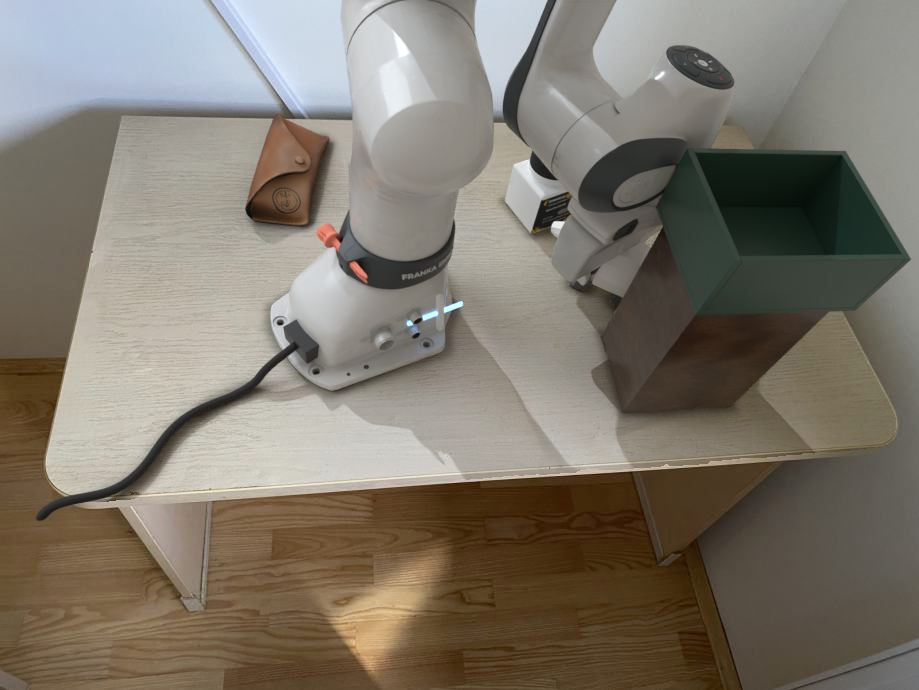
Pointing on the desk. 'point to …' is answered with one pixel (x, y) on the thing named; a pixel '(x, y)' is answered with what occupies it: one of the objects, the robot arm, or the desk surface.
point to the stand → (689, 343)
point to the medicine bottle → (537, 195)
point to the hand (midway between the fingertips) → (605, 266)
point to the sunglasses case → (286, 174)
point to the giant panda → (612, 269)
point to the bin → (776, 232)
